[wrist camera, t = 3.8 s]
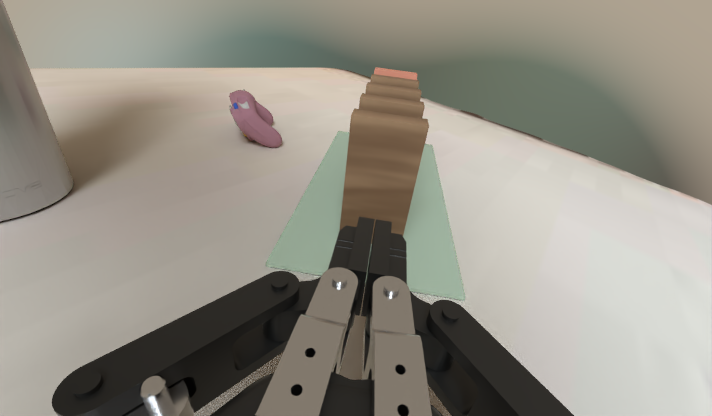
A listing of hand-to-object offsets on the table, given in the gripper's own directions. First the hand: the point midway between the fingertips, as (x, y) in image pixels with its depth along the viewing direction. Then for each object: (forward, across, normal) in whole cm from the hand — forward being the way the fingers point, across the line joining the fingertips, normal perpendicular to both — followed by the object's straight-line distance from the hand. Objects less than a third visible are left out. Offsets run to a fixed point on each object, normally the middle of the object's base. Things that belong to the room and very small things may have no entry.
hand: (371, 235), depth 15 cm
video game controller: (+28, +17, +8) cm, 34 cm away
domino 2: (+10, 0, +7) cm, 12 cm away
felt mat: (+20, 0, +8) cm, 21 cm away
